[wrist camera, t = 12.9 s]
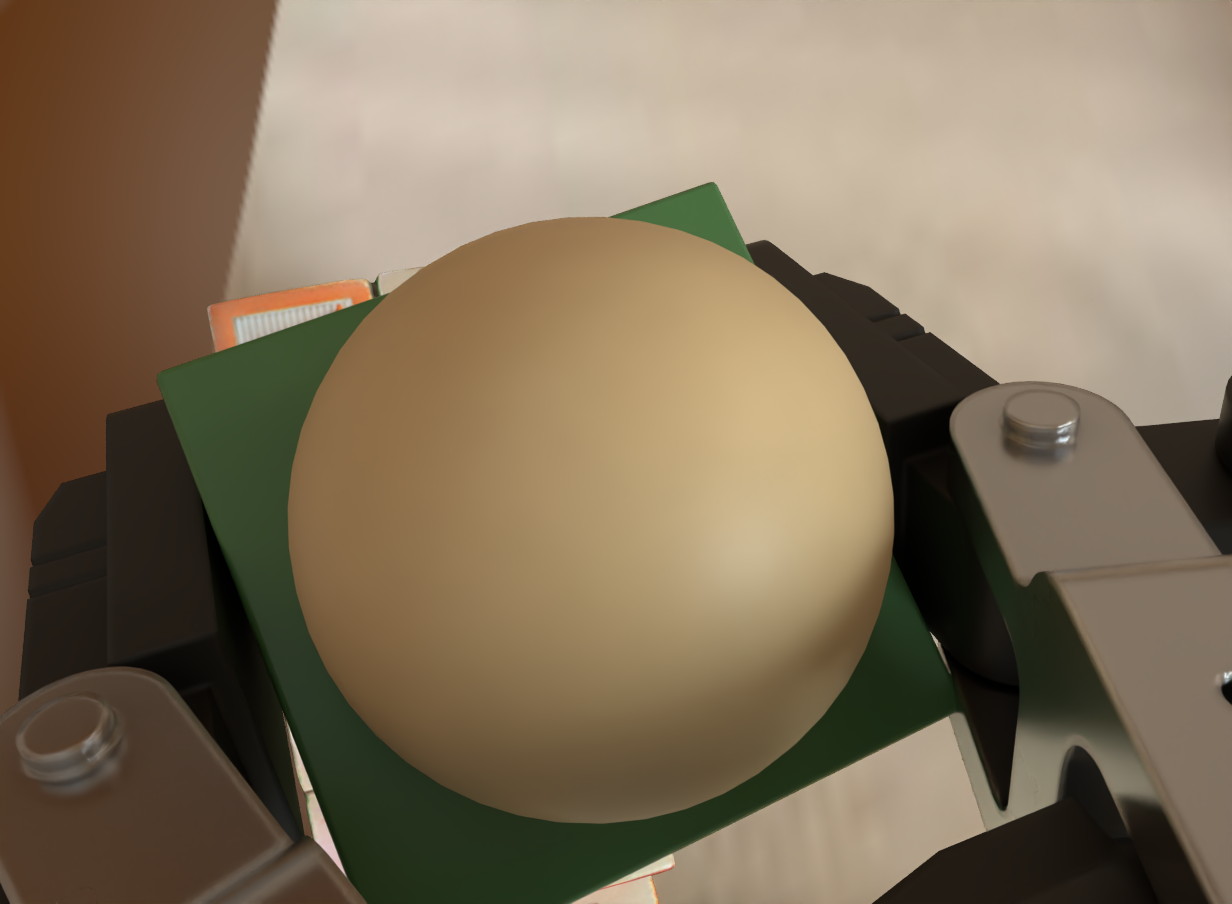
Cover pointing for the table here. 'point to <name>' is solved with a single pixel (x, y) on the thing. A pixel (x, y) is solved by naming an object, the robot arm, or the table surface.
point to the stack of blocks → (264, 314)
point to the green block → (561, 553)
